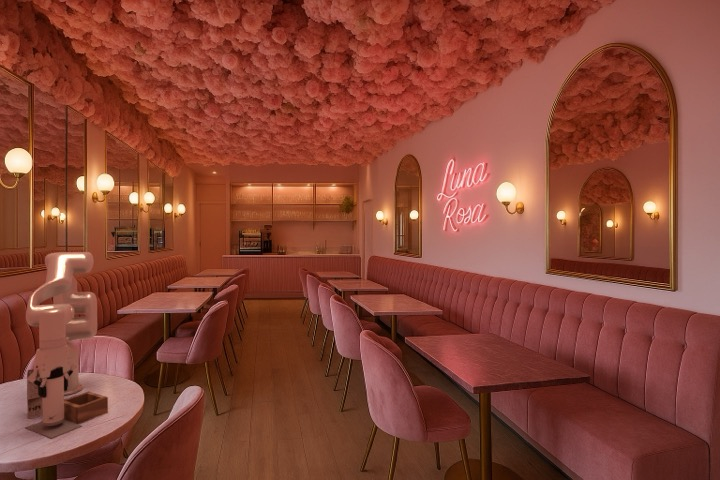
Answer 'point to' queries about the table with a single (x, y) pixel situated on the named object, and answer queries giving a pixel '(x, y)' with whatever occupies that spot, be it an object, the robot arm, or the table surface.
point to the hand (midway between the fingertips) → (53, 392)
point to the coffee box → (33, 398)
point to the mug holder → (85, 407)
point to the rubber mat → (53, 428)
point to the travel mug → (54, 398)
